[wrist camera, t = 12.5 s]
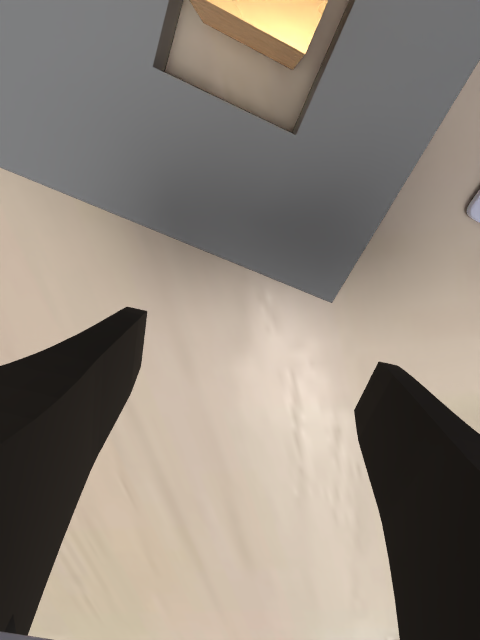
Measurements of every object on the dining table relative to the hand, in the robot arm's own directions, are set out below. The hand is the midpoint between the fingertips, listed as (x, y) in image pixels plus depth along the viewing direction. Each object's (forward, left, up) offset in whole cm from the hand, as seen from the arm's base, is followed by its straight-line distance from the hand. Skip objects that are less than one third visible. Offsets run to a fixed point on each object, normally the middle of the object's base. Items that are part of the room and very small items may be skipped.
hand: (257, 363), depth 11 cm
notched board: (+5, -7, -9) cm, 13 cm away
